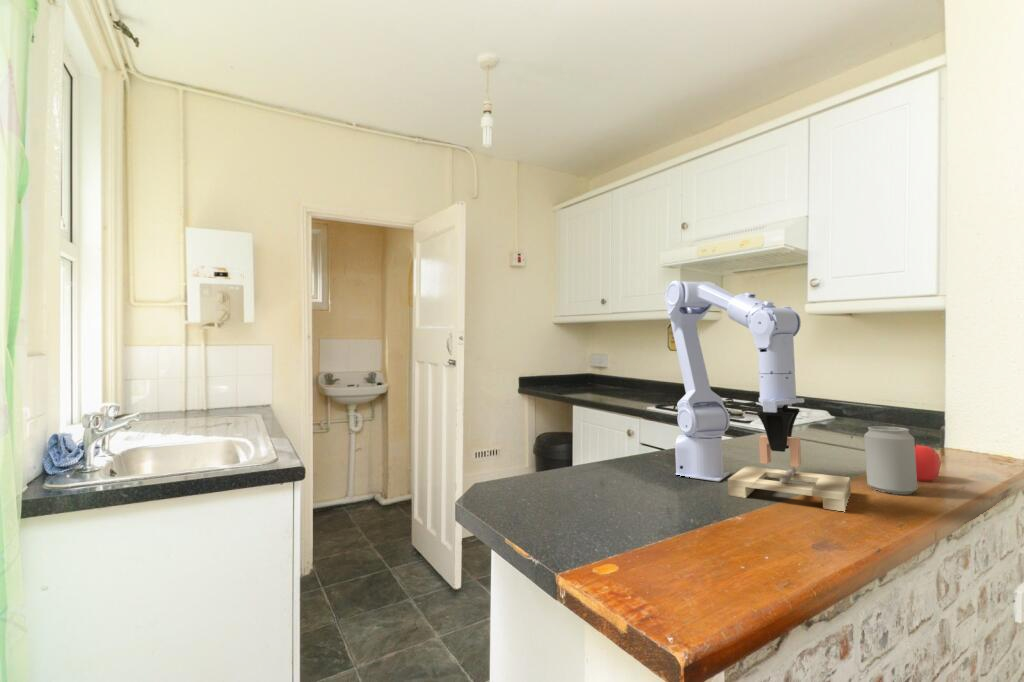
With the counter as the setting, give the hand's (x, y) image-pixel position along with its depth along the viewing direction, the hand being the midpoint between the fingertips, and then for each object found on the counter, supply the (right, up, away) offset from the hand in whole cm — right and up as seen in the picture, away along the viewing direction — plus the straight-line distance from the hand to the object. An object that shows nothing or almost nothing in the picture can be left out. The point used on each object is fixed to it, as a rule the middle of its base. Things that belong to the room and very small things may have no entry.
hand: (780, 449), depth 84 cm
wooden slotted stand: (+4, -10, +4) cm, 11 cm away
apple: (+37, -10, +14) cm, 40 cm away
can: (+25, -9, +6) cm, 27 cm away
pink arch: (0, -3, 0) cm, 3 cm away
